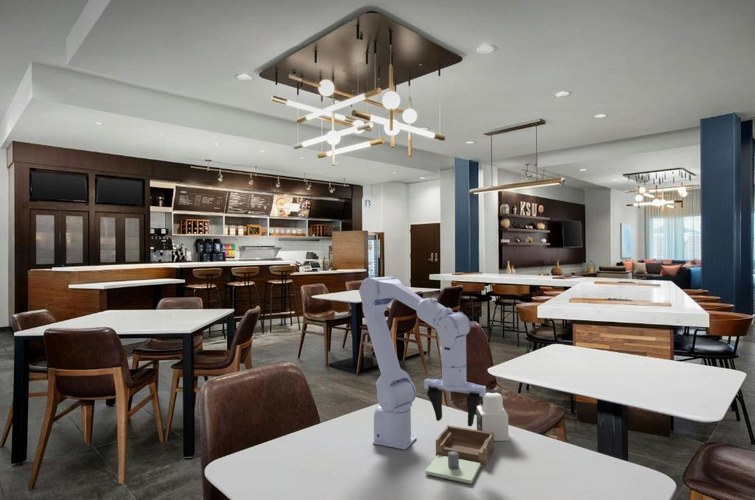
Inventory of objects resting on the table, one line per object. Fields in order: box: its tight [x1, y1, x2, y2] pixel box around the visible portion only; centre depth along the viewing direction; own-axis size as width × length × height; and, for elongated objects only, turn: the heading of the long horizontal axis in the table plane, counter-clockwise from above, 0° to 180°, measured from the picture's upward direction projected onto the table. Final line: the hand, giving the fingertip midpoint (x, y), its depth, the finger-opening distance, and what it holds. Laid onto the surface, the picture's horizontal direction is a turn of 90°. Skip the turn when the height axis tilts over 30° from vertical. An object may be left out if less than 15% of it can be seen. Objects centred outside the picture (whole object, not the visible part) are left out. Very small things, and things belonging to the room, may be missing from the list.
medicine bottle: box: [475, 389, 510, 442], centre depth 120 cm, size 7×7×12 cm
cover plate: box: [425, 451, 481, 485], centre depth 101 cm, size 9×10×4 cm
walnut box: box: [435, 424, 495, 467], centre depth 110 cm, size 10×12×4 cm
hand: (454, 422), depth 105 cm, fingers open, 7 cm apart
